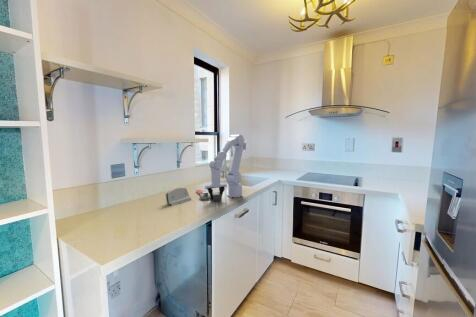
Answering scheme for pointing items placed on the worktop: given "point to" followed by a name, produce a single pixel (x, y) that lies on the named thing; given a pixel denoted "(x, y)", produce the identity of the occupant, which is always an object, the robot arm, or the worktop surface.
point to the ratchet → (203, 195)
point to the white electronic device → (177, 196)
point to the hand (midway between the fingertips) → (216, 198)
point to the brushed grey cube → (216, 197)
